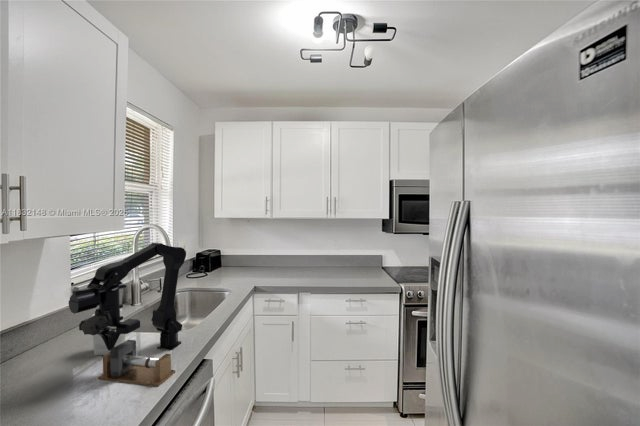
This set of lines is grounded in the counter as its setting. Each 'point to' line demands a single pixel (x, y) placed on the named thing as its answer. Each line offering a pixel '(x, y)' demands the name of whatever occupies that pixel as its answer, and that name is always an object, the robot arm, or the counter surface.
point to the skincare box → (99, 343)
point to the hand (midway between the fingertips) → (110, 350)
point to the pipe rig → (140, 370)
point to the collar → (118, 353)
